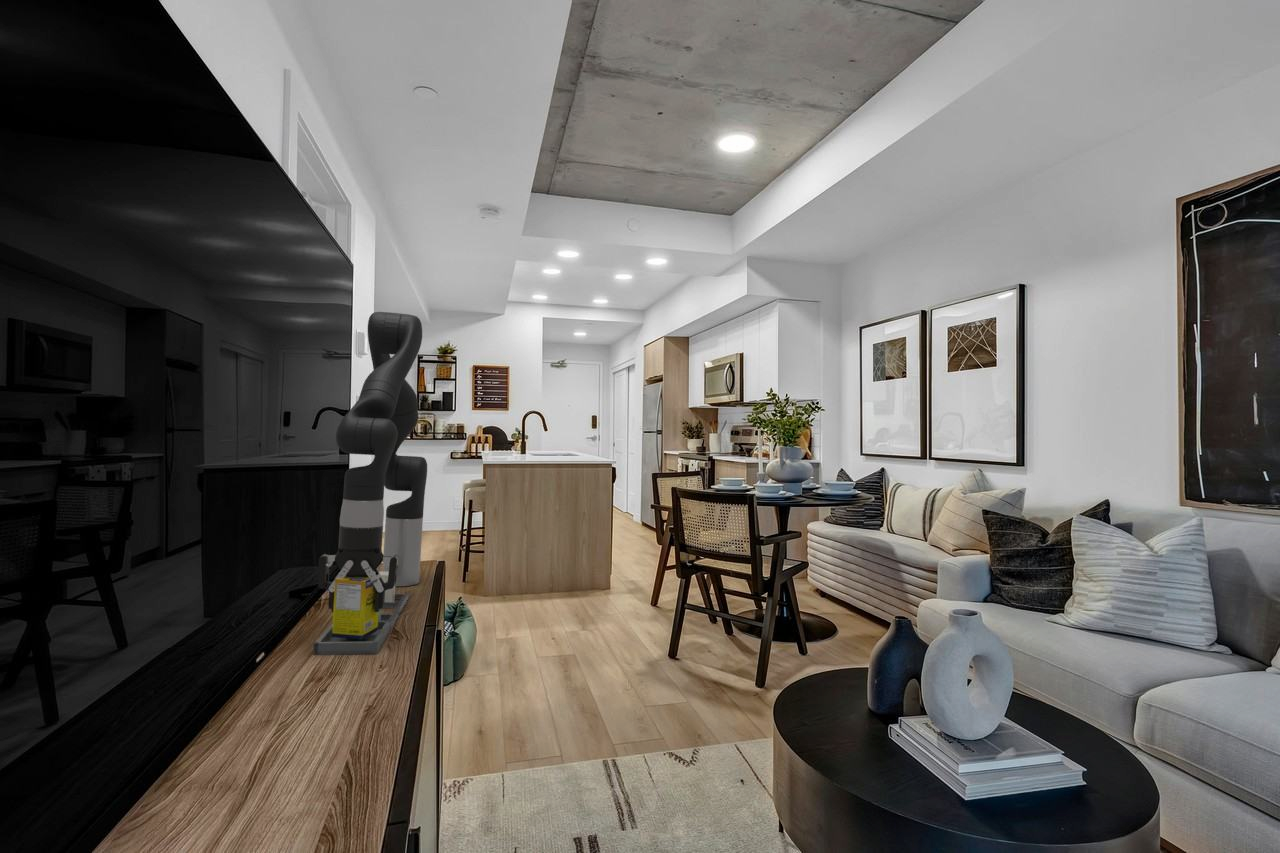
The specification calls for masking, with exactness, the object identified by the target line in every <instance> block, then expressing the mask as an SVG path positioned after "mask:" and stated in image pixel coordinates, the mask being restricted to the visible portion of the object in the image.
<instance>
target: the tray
mask: <svg viewBox="0 0 1280 853" xmlns="http://www.w3.org/2000/svg"><path fill="white" fill-rule="evenodd" d="M332 627H333V622H332V623H331V624H330V625H329V626H328V627H327V628H326V629H325V631H323V633H322V634H321V635H320V636H319V637H318V638H317V639H316V641H315V642H314V643H313V651H312V652H313V653H312V654H313V655H315V656H318V655H319V656H321V655H325V656H326V655H327V656H329V655H331V656H332V655H377V654H378V652H379V650H380V649H381V647H382V645H383V644H384V642H385V640H386V639H387V637H388V635H389V634H390V632H391V630H390V621H388V620H386V621H378V630H377V631H376V632H374V633H372V634H370V635H369V636H367V637H365V638H364V639H362V640H360V639H350V638H337V637H332Z"/></svg>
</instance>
